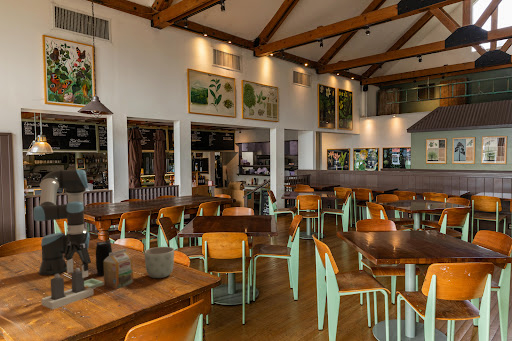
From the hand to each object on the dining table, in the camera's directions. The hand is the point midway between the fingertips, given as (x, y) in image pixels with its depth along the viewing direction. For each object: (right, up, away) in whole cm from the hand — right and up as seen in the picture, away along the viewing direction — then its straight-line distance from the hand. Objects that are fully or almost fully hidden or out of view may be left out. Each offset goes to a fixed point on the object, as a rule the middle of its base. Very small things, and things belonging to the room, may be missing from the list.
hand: (77, 274), depth 174 cm
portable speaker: (-2, -11, +35) cm, 37 cm away
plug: (0, -11, 0) cm, 11 cm away
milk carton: (+14, -11, +16) cm, 24 cm away
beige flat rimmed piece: (-2, -12, -4) cm, 12 cm away
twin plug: (-5, -11, -8) cm, 15 cm away
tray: (-1, -11, +14) cm, 18 cm away
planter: (+33, -10, +30) cm, 46 cm away
